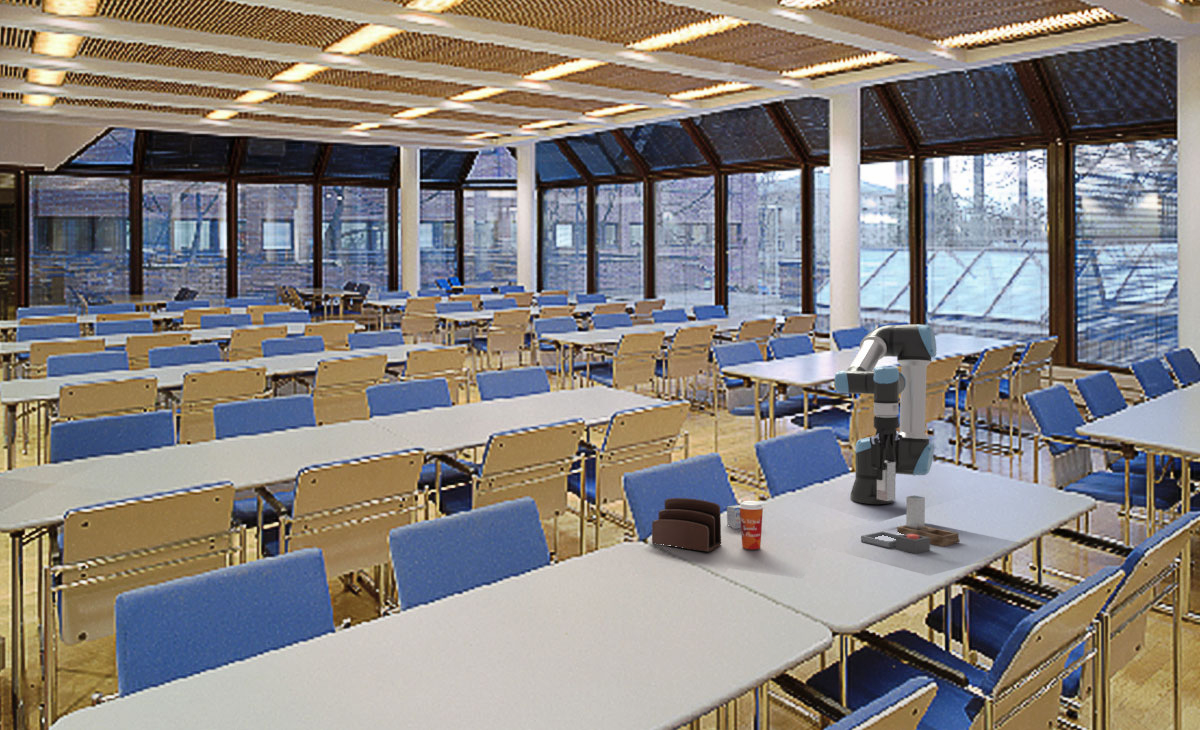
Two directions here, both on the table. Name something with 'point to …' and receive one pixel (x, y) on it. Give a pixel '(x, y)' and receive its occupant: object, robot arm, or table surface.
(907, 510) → the billet
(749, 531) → the paper cup
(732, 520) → the medicine box
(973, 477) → the table surface
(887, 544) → the tray
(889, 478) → the block
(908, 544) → the button housing
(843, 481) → the table surface
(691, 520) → the letter holder
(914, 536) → the button
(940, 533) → the wooden tray
